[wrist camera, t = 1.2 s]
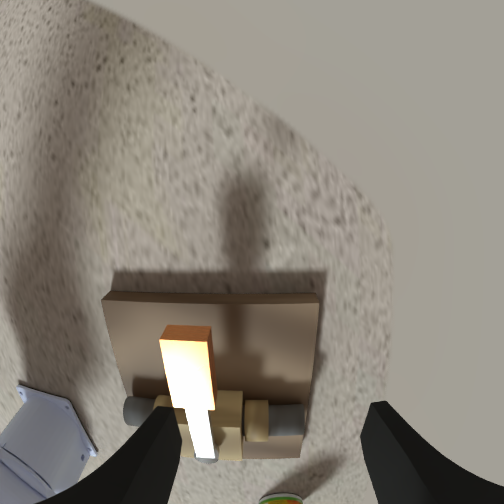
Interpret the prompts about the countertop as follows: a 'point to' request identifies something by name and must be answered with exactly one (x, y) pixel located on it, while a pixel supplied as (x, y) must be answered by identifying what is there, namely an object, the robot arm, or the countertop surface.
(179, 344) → the valve lever
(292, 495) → the supplement bottle
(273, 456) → the valve base
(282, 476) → the countertop surface
